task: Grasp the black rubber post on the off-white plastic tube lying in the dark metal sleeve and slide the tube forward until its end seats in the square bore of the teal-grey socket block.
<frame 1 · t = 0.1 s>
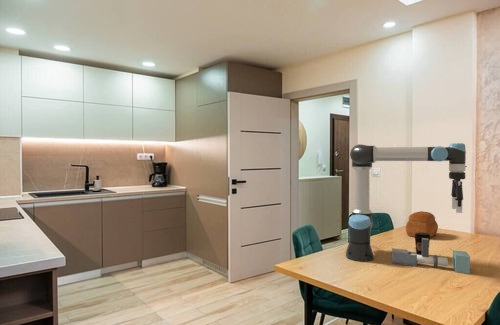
hand: (456, 210, 175), 28 cm above the table, fingers open, 13 cm apart
socket: (461, 270, 163), on the table
bread: (421, 235, 235), on the table
coffee cup: (422, 255, 187), on the table
sleeve: (404, 263, 174), on the table
tube: (419, 251, 170), point 7 cm above the table, slide at 0.0 cm
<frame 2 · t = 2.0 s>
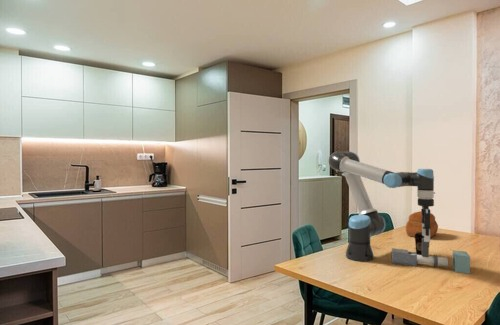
hand: (425, 238, 169), 14 cm above the table, fingers open, 13 cm apart
nothing on the table moved.
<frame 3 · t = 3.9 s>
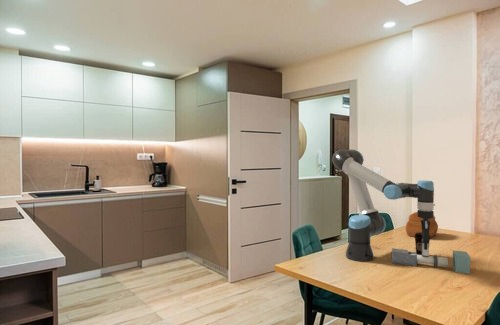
hand: (425, 254, 169), 6 cm above the table, fingers closed on tube, 3 cm apart
tube: (419, 251, 170), point 7 cm above the table, slide at 0.0 cm, touching gripper
everything else where it was.
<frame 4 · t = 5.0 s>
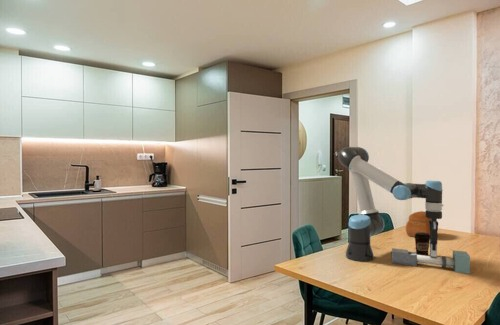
hand: (433, 255, 168), 6 cm above the table, fingers closed on tube, 3 cm apart
tube: (427, 252, 169), point 7 cm above the table, slide at 3.7 cm, touching gripper
everything else where it was.
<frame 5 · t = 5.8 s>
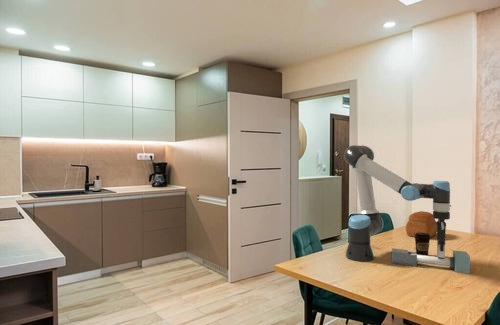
hand: (440, 256, 167), 6 cm above the table, fingers closed on tube, 3 cm apart
tube: (435, 252, 168), point 7 cm above the table, slide at 7.2 cm, touching gripper
everything else where it was.
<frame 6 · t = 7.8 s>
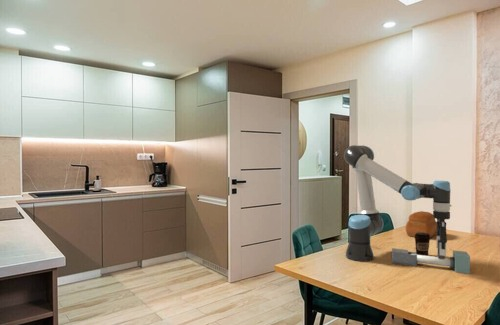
hand: (441, 251, 166), 8 cm above the table, fingers open, 13 cm apart
tube: (435, 253, 167), point 7 cm above the table, slide at 7.3 cm
everything else where it was.
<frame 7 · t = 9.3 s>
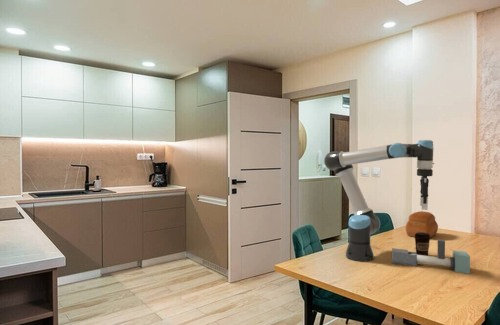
hand: (423, 207, 175), 30 cm above the table, fingers open, 13 cm apart
nothing on the table moved.
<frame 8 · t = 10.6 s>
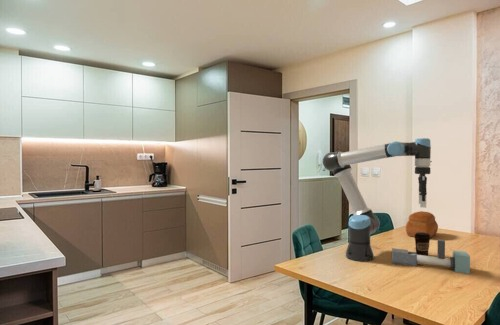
hand: (422, 205, 176), 31 cm above the table, fingers open, 13 cm apart
nothing on the table moved.
at the end: tube slide at 7.3 cm; the gripper is holding nothing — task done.
